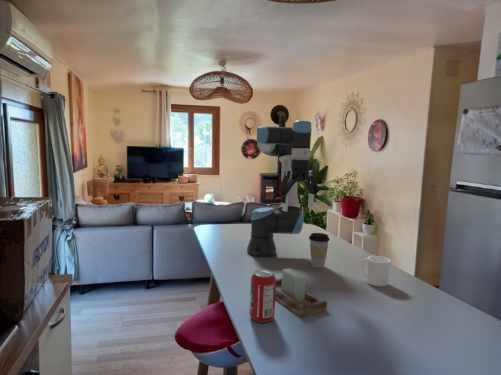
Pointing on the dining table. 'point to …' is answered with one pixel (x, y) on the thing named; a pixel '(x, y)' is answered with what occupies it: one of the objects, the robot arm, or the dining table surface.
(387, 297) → the dining table surface
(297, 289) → the pale green block
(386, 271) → the mug
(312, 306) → the wooden tray
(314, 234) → the coffee cup
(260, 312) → the soda can
